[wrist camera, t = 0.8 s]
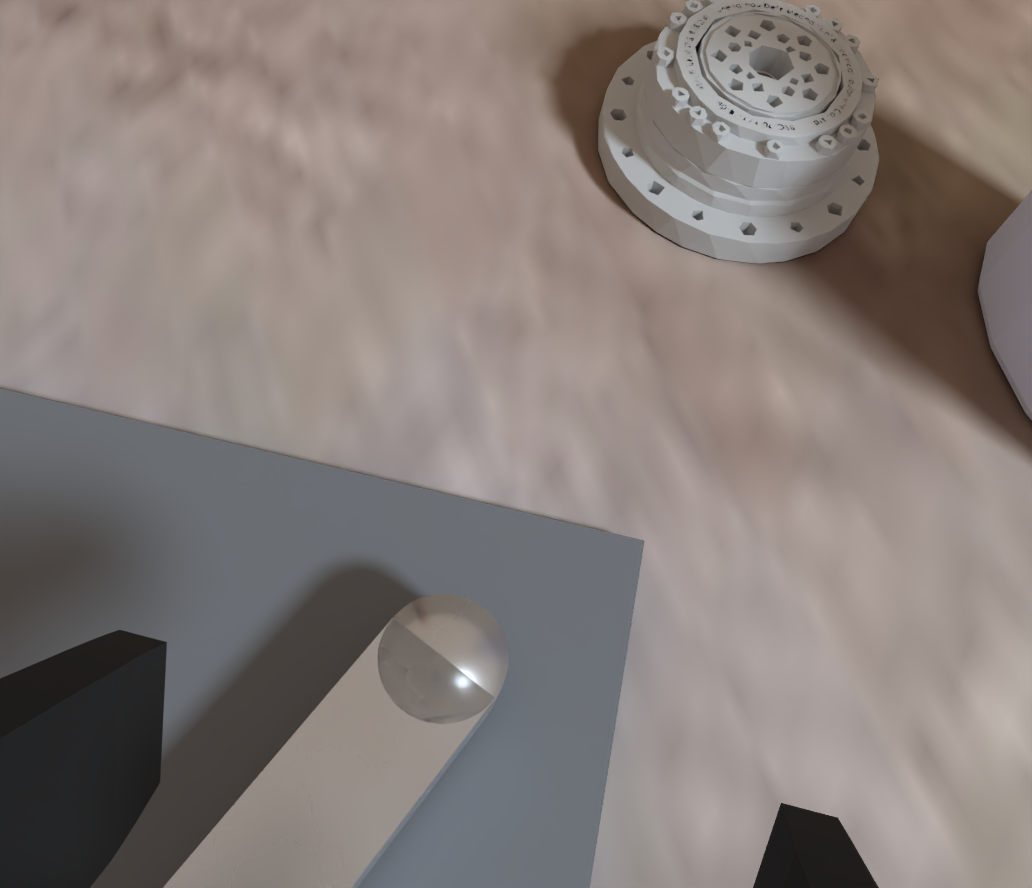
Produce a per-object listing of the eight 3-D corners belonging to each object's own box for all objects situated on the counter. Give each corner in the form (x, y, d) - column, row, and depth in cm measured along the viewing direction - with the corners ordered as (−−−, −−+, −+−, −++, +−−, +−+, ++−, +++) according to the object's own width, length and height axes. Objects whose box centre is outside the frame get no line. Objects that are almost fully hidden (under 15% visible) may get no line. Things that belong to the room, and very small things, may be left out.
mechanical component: (721, 22, 39) (538, 134, 35) (758, -80, 35) (556, 34, 31) (914, 180, 36) (738, 318, 32) (978, 89, 32) (785, 234, 28)
